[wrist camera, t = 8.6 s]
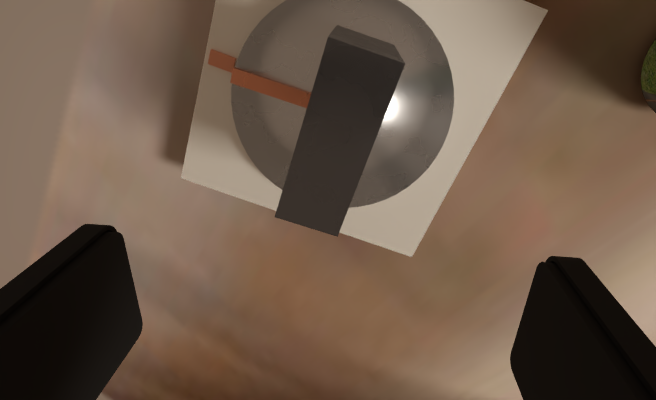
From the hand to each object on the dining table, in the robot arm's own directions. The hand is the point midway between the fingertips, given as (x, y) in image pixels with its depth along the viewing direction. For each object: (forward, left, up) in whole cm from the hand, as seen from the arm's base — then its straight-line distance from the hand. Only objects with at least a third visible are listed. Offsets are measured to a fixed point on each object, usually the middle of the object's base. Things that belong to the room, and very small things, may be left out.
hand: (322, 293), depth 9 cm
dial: (0, 0, -16) cm, 16 cm away
